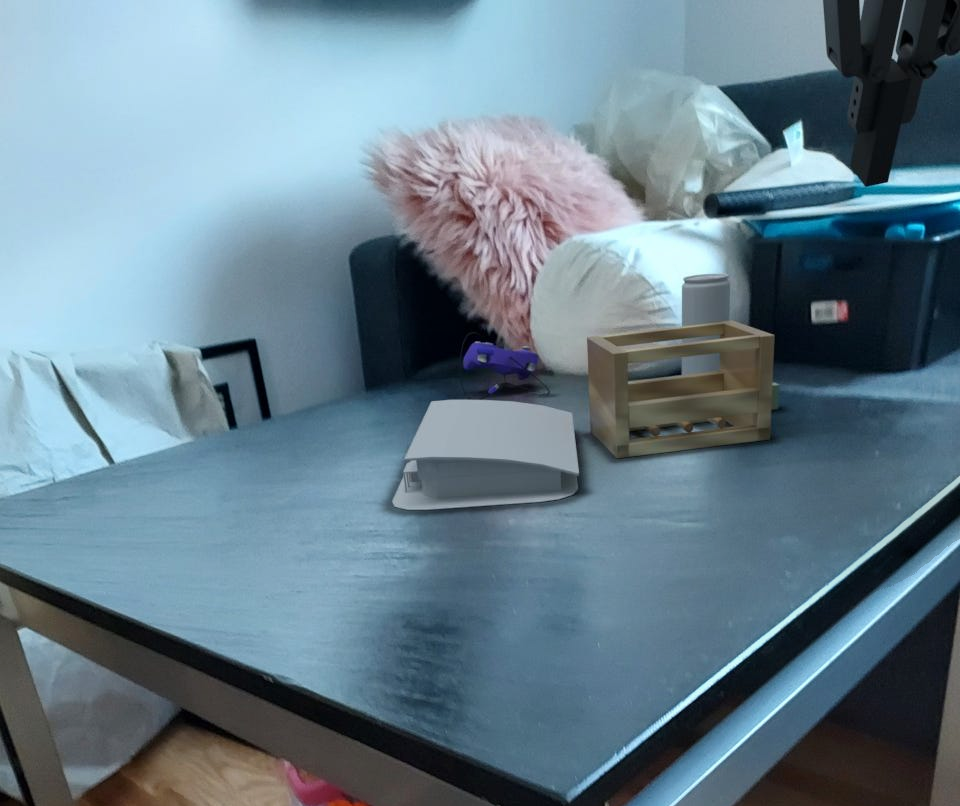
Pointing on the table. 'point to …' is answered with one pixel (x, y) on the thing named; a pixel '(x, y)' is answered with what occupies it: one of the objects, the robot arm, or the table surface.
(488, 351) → the game controller
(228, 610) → the table surface
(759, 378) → the rack
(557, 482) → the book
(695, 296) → the beverage can
